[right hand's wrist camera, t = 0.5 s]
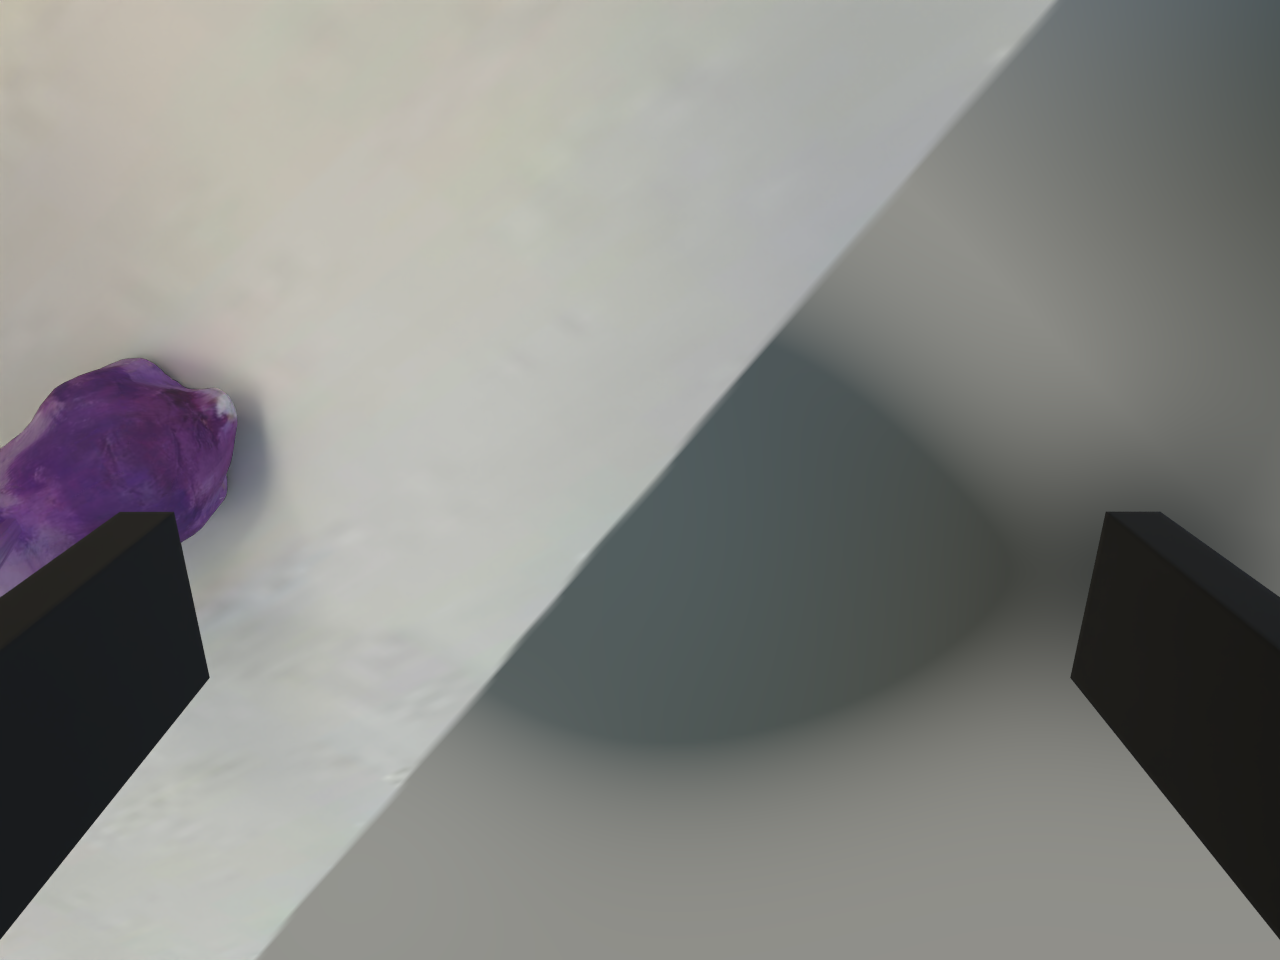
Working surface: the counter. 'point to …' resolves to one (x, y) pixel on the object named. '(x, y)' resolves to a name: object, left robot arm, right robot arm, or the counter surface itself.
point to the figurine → (111, 461)
